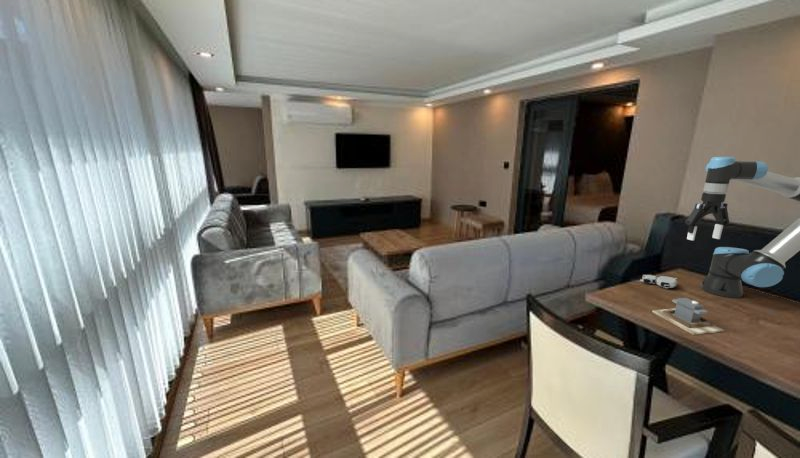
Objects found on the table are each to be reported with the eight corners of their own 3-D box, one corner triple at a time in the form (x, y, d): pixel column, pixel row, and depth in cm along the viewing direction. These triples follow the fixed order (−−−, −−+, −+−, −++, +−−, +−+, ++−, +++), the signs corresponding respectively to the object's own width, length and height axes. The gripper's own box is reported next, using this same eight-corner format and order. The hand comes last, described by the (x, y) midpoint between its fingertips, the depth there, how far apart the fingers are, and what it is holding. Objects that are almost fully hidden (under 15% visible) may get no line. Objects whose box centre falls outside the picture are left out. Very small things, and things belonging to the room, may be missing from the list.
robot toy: (638, 285, 171) (675, 292, 160) (639, 277, 170) (676, 283, 159) (642, 279, 179) (677, 285, 169) (643, 271, 178) (678, 276, 168)
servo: (677, 312, 139) (681, 293, 137) (704, 325, 129) (709, 305, 127) (669, 313, 139) (673, 294, 137) (695, 326, 128) (700, 306, 126)
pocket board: (679, 309, 144) (680, 304, 143) (723, 331, 126) (725, 326, 126) (652, 312, 142) (653, 307, 141) (693, 334, 124) (694, 329, 124)
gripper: (728, 190, 144) (717, 235, 150) (681, 192, 141) (671, 238, 146) (748, 193, 137) (735, 240, 142) (698, 194, 134) (687, 242, 139)
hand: (703, 239), depth 144 cm, fingers open, 13 cm apart
